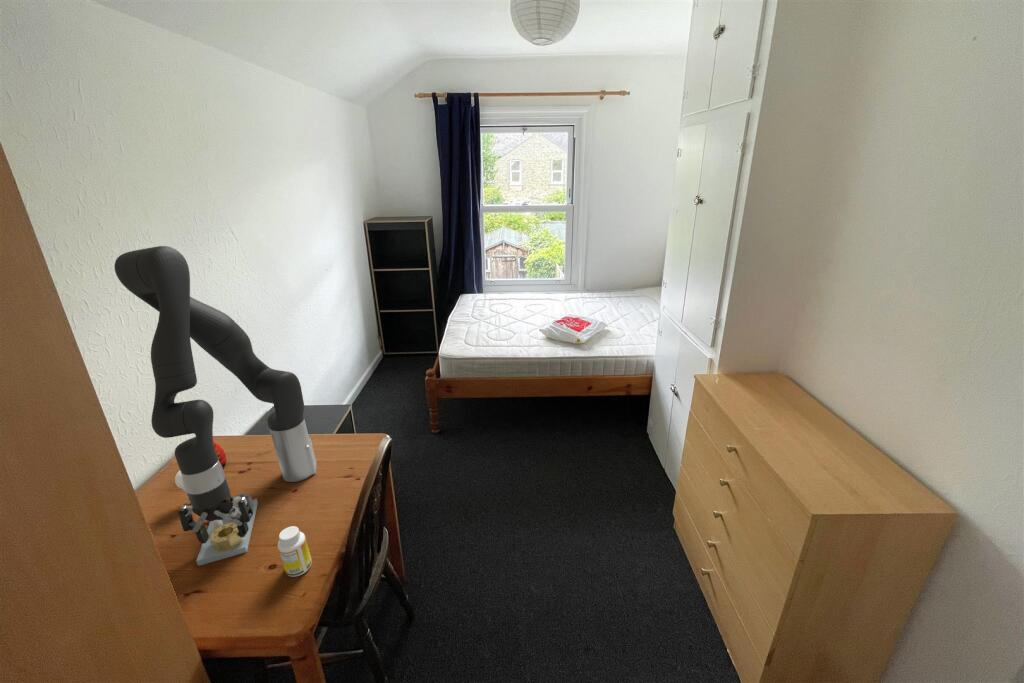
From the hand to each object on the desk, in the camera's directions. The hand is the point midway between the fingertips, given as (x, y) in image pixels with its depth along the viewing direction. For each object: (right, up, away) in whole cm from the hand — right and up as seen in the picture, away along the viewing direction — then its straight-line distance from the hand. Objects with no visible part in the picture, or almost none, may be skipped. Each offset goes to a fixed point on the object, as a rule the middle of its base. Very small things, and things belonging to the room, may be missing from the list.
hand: (224, 537), depth 105 cm
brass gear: (+1, -1, +1) cm, 2 cm away
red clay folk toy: (-23, +8, +32) cm, 40 cm away
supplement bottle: (+20, -5, -5) cm, 22 cm away
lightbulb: (-19, +2, +17) cm, 25 cm away
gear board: (-2, -1, +6) cm, 6 cm away
